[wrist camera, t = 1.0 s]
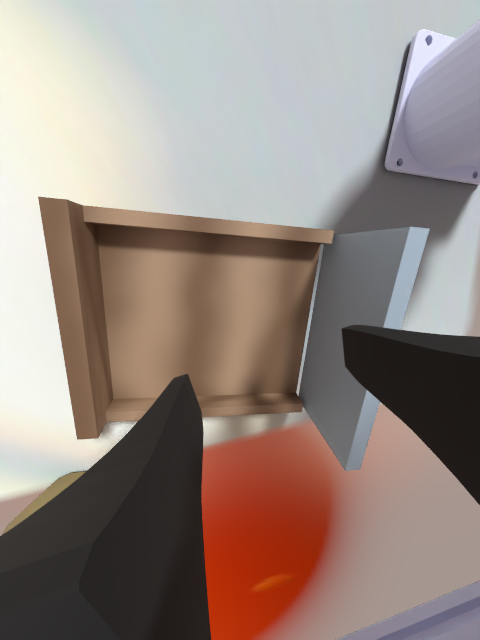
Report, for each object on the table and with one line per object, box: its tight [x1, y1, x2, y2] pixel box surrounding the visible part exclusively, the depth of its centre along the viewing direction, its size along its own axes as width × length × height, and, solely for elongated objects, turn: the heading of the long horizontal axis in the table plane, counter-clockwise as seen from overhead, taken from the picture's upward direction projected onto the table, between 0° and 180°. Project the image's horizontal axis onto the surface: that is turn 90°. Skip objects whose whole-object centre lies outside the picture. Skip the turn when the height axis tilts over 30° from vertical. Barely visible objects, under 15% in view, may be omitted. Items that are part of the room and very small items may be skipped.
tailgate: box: [299, 227, 430, 471], centre depth 15 cm, size 1×14×7 cm, turn 175°
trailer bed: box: [38, 197, 334, 439], centre depth 16 cm, size 16×14×5 cm
